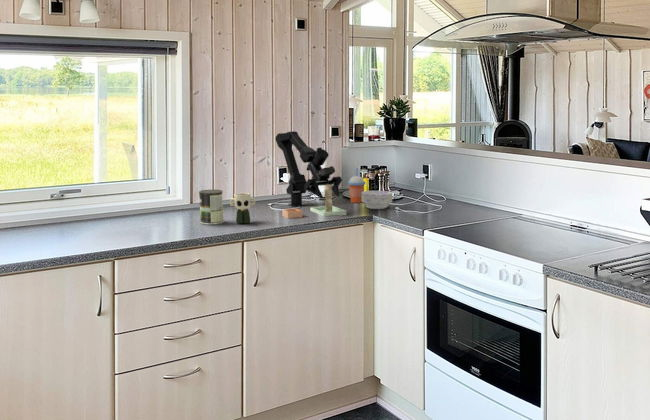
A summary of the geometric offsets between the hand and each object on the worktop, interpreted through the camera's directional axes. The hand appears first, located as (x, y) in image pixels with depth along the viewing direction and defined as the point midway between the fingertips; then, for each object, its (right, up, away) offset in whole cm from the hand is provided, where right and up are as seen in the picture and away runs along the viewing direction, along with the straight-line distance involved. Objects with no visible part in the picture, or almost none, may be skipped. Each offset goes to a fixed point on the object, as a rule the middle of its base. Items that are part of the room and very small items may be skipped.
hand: (330, 197), depth 296 cm
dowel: (-1, -7, +2) cm, 8 cm away
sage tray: (-1, -8, +4) cm, 8 cm away
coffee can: (-53, -12, -15) cm, 56 cm away
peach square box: (-18, -9, -6) cm, 21 cm away
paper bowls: (+23, -5, +18) cm, 30 cm away
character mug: (-39, -12, -17) cm, 44 cm away
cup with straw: (+14, -2, +35) cm, 38 cm away
